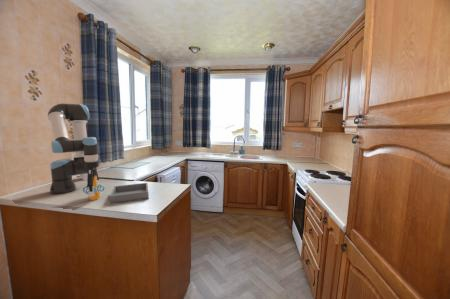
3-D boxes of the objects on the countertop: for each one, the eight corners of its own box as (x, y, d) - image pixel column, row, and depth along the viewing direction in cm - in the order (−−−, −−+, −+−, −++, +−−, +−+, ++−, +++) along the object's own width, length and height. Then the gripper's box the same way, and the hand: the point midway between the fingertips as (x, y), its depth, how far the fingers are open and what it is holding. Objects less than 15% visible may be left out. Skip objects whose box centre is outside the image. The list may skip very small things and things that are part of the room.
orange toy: (93, 202, 127) (91, 179, 125) (79, 201, 129) (77, 178, 127) (108, 195, 139) (106, 174, 137) (95, 194, 141) (93, 173, 139)
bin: (114, 193, 144) (114, 186, 144) (147, 189, 152) (147, 182, 152) (110, 204, 124) (109, 196, 123) (148, 198, 132) (148, 191, 132)
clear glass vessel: (84, 180, 179) (82, 161, 177) (79, 178, 184) (77, 160, 182) (95, 178, 187) (94, 160, 185) (91, 176, 192) (89, 159, 190)
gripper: (94, 164, 121) (96, 198, 123) (101, 157, 144) (104, 187, 146) (79, 165, 118) (82, 200, 120) (89, 158, 141) (91, 188, 143)
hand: (94, 193), depth 133 cm, fingers open, 13 cm apart
